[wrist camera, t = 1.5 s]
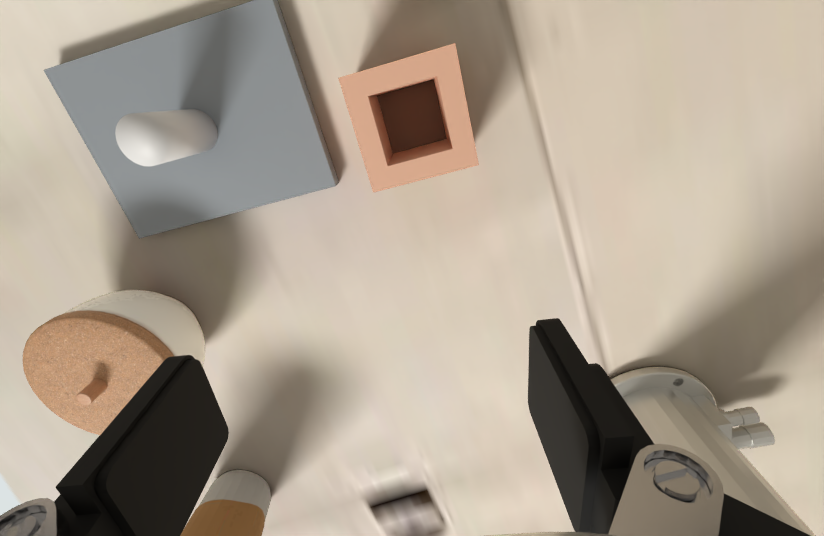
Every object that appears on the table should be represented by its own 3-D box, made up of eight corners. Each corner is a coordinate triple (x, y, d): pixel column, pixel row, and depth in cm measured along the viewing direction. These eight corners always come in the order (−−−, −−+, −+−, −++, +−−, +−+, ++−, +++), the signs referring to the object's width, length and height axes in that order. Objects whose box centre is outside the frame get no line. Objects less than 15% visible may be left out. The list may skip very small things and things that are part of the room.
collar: (448, 52, 26) (455, 42, 21) (468, 152, 29) (478, 164, 24) (353, 80, 27) (338, 77, 22) (380, 175, 30) (373, 192, 25)
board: (277, -2, 25) (227, -35, 19) (338, 182, 30) (316, 208, 23) (58, 71, 27) (-57, 64, 20) (148, 233, 32) (78, 270, 25)
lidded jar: (80, 276, 33) (-37, 340, 25) (202, 262, 33) (125, 322, 24) (132, 378, 38) (48, 463, 29) (241, 367, 37) (188, 451, 28)
